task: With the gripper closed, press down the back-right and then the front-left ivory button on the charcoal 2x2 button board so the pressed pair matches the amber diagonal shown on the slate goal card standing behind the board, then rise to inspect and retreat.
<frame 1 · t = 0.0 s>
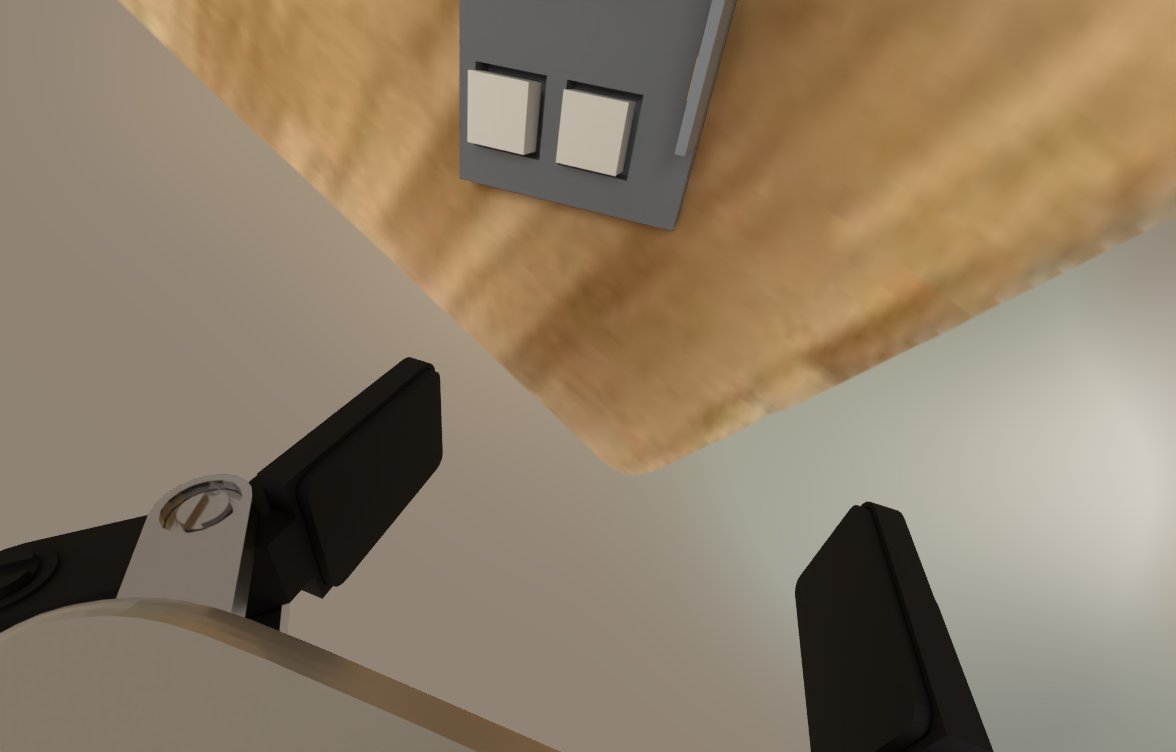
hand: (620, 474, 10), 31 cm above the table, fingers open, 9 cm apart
button D: (595, 132, 32), point 4 cm above the table, slide at 0.0 cm
board: (595, 37, 32), on the table
goal card: (716, 59, 31), resting on board
button B: (503, 112, 33), point 4 cm above the table, slide at 0.0 cm
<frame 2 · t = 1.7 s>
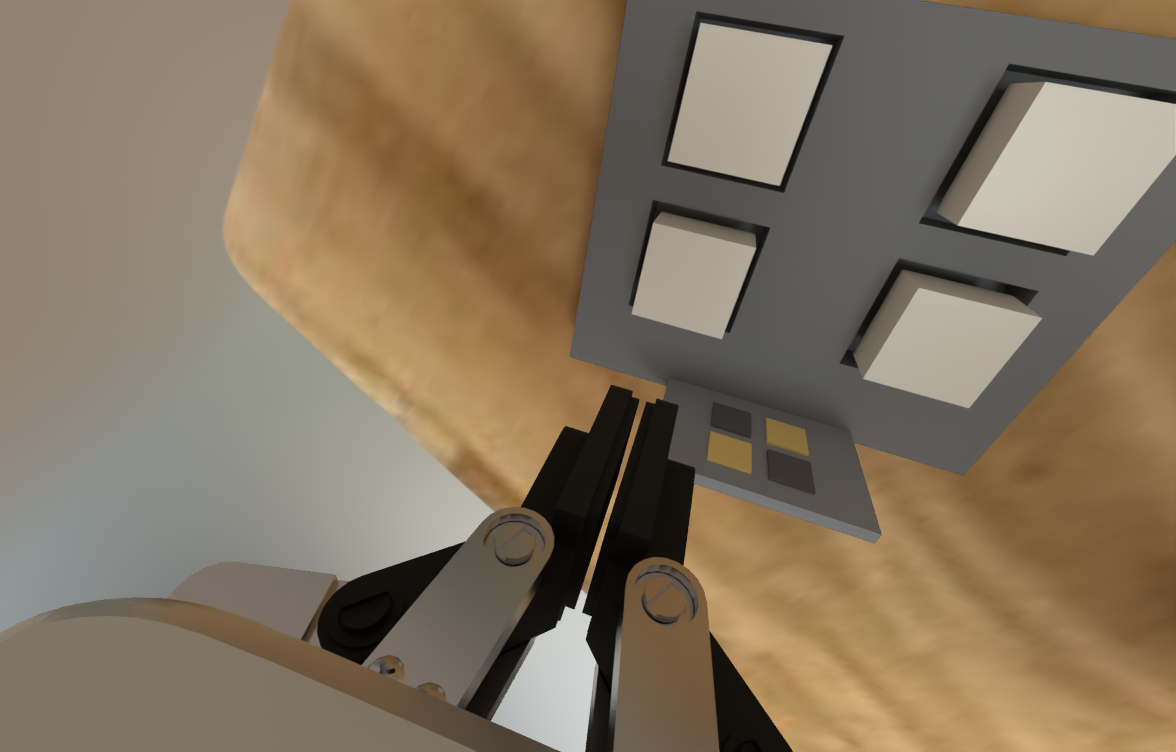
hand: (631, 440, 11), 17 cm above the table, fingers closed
button D: (691, 275, 22), point 4 cm above the table, slide at 0.0 cm
button A: (1051, 169, 16), point 4 cm above the table, slide at 0.0 cm
board: (817, 241, 23), on the table
goal card: (754, 380, 28), resting on board
button C: (935, 338, 20), point 4 cm above the table, slide at 0.0 cm
button B: (742, 108, 18), point 4 cm above the table, slide at 0.0 cm
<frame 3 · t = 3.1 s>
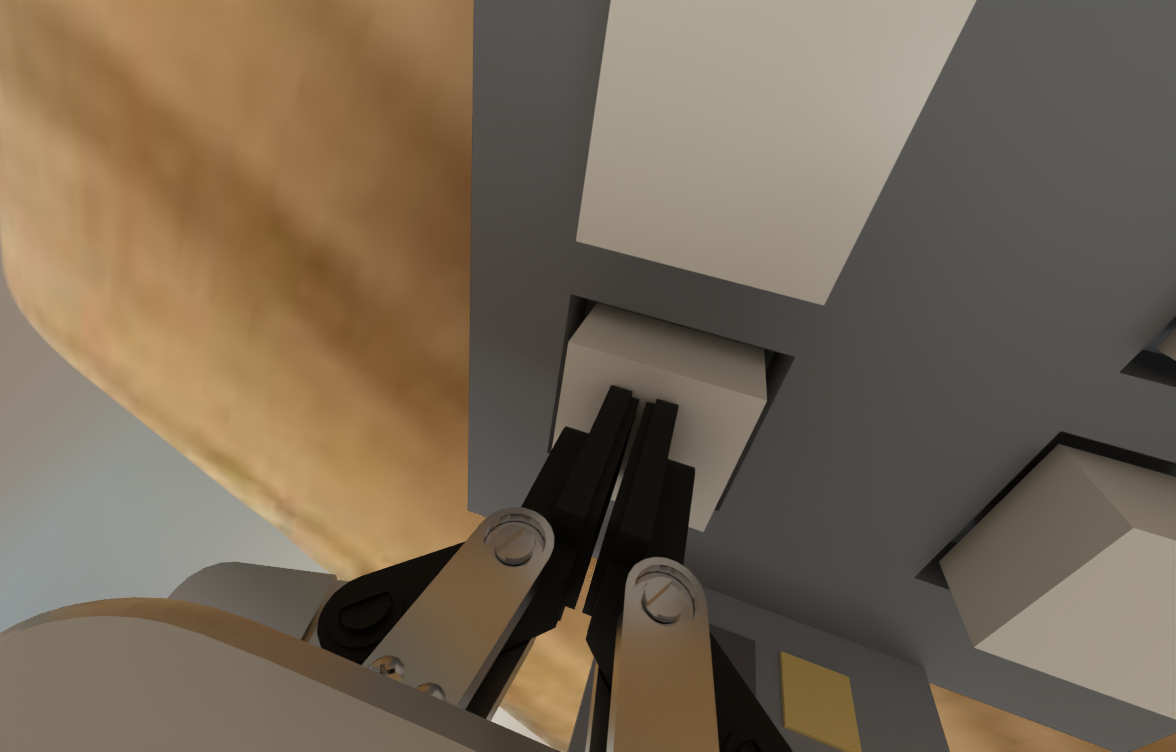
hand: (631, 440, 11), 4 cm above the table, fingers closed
button D: (650, 416, 12), point 3 cm above the table, slide at 0.6 cm, touching gripper
board: (874, 356, 13), on the table
goal card: (760, 542, 18), resting on board
button C: (1126, 584, 10), point 4 cm above the table, slide at 0.0 cm
button B: (739, 126, 8), point 4 cm above the table, slide at 0.0 cm
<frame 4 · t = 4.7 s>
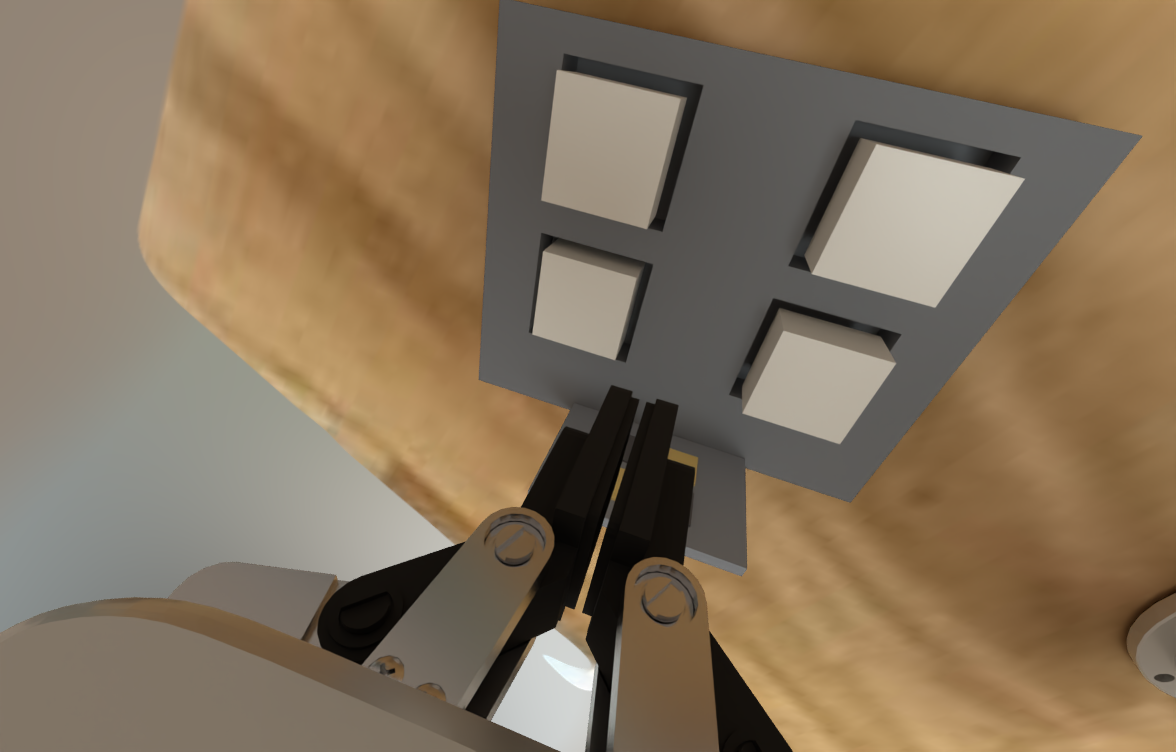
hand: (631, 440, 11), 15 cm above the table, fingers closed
button D: (587, 298, 23), point 3 cm above the table, slide at 1.1 cm
button A: (897, 222, 17), point 4 cm above the table, slide at 0.0 cm
board: (710, 274, 23), on the table
goal card: (663, 404, 28), resting on board
button C: (809, 376, 21), point 4 cm above the table, slide at 0.0 cm
button B: (611, 150, 18), point 4 cm above the table, slide at 0.0 cm
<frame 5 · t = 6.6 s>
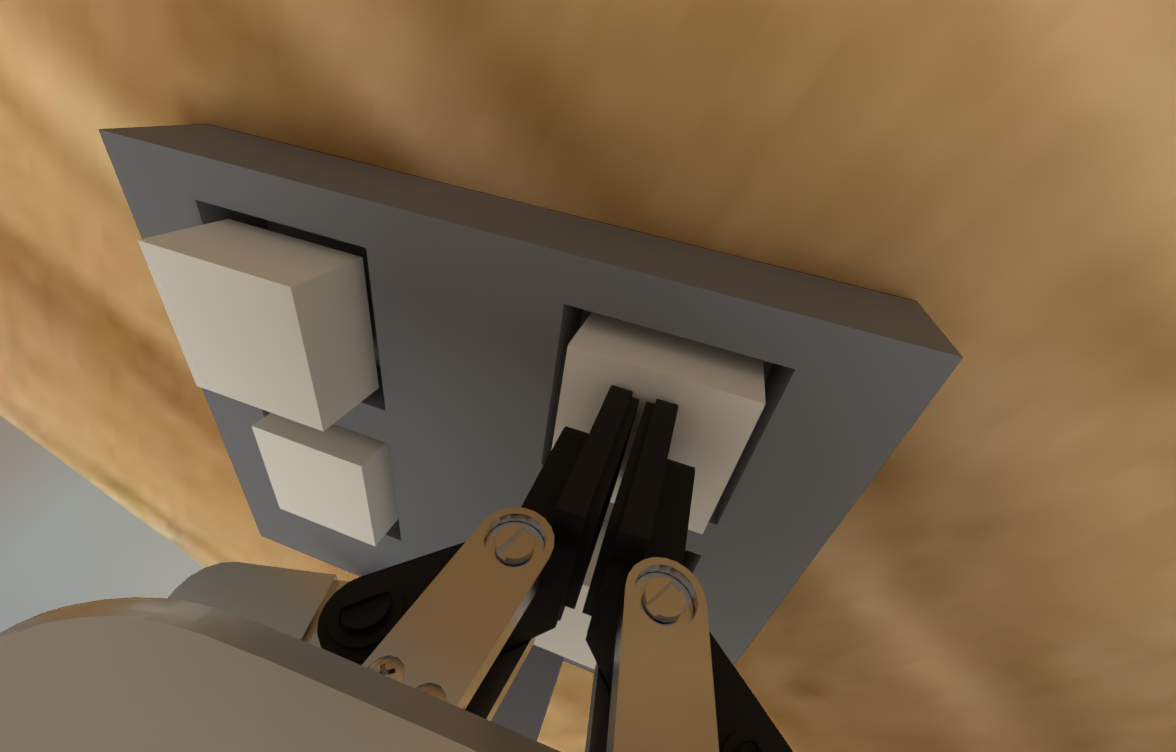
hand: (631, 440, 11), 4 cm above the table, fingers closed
button D: (340, 467, 18), point 3 cm above the table, slide at 1.1 cm
button A: (649, 419, 12), point 3 cm above the table, slide at 1.0 cm, touching gripper
board: (499, 432, 18), on the table
goal card: (491, 559, 23), resting on board
button C: (595, 594, 15), point 4 cm above the table, slide at 0.0 cm
button B: (275, 324, 13), point 4 cm above the table, slide at 0.0 cm
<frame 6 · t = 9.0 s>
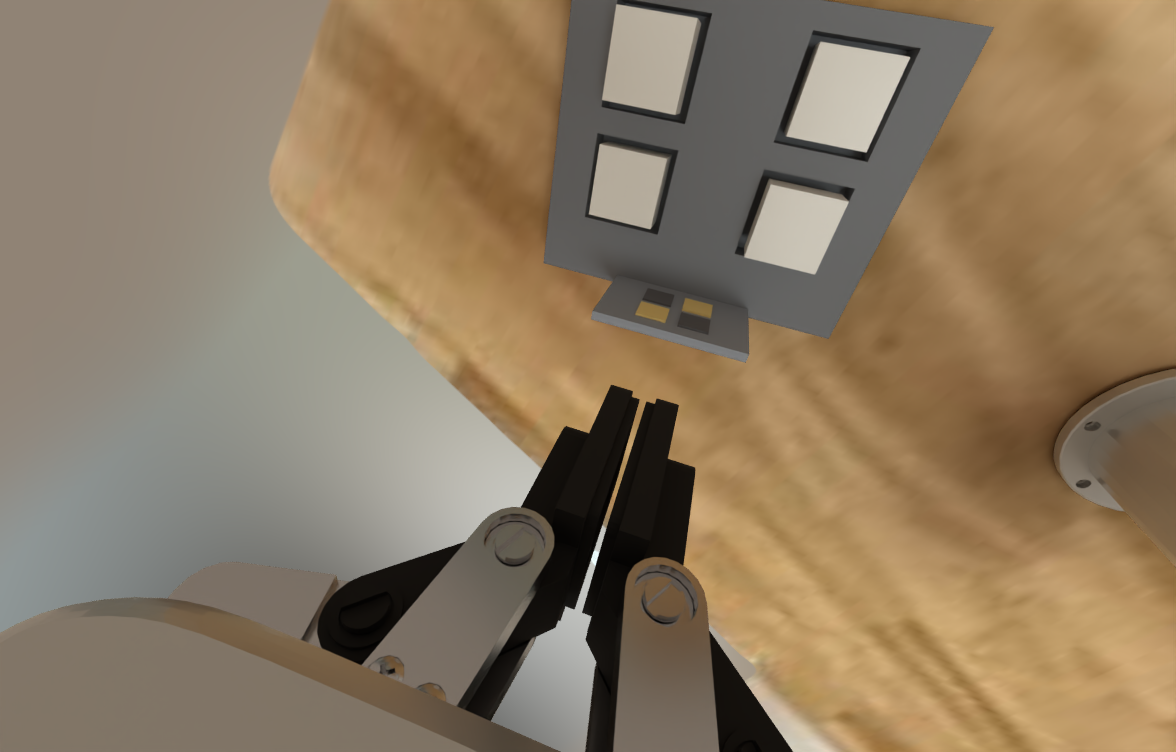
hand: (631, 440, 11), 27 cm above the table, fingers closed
button D: (629, 185, 31), point 3 cm above the table, slide at 1.1 cm
button A: (840, 99, 26), point 3 cm above the table, slide at 1.1 cm
board: (719, 166, 32), on the table
goal card: (684, 281, 36), resting on board
button C: (791, 226, 29), point 4 cm above the table, slide at 0.0 cm
button B: (650, 62, 26), point 4 cm above the table, slide at 0.0 cm
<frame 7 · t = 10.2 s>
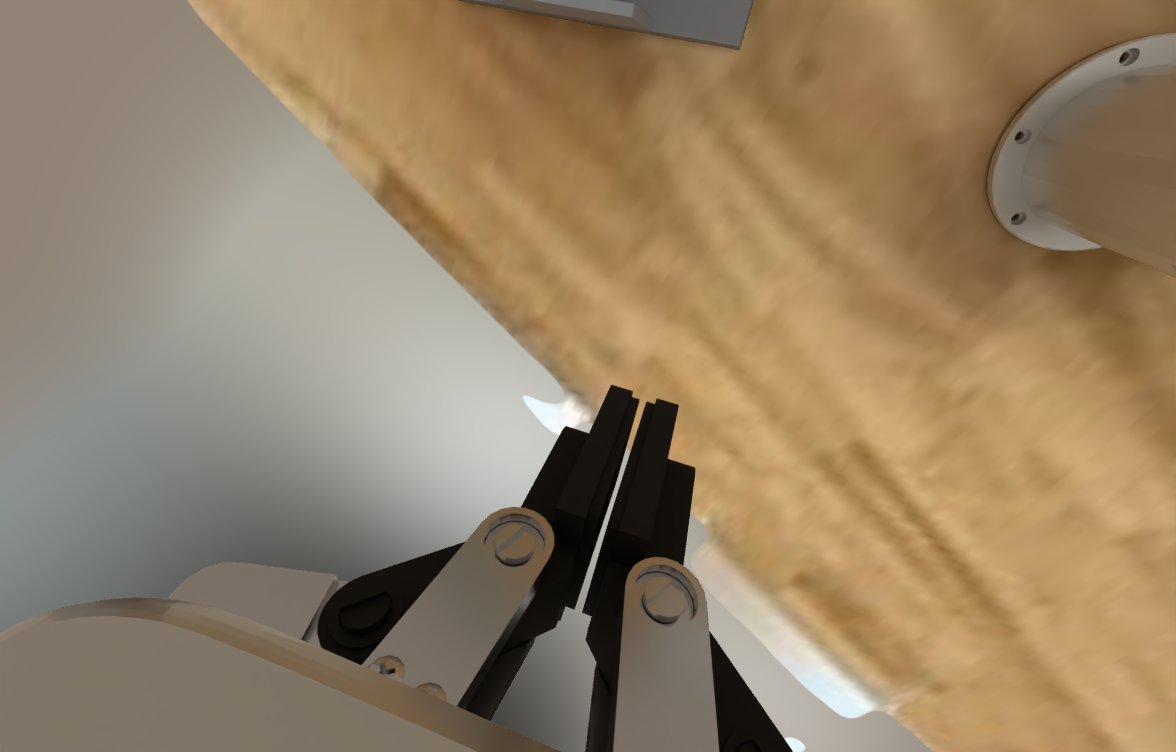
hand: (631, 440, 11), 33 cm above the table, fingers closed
goal card: (595, 19, 34), resting on board
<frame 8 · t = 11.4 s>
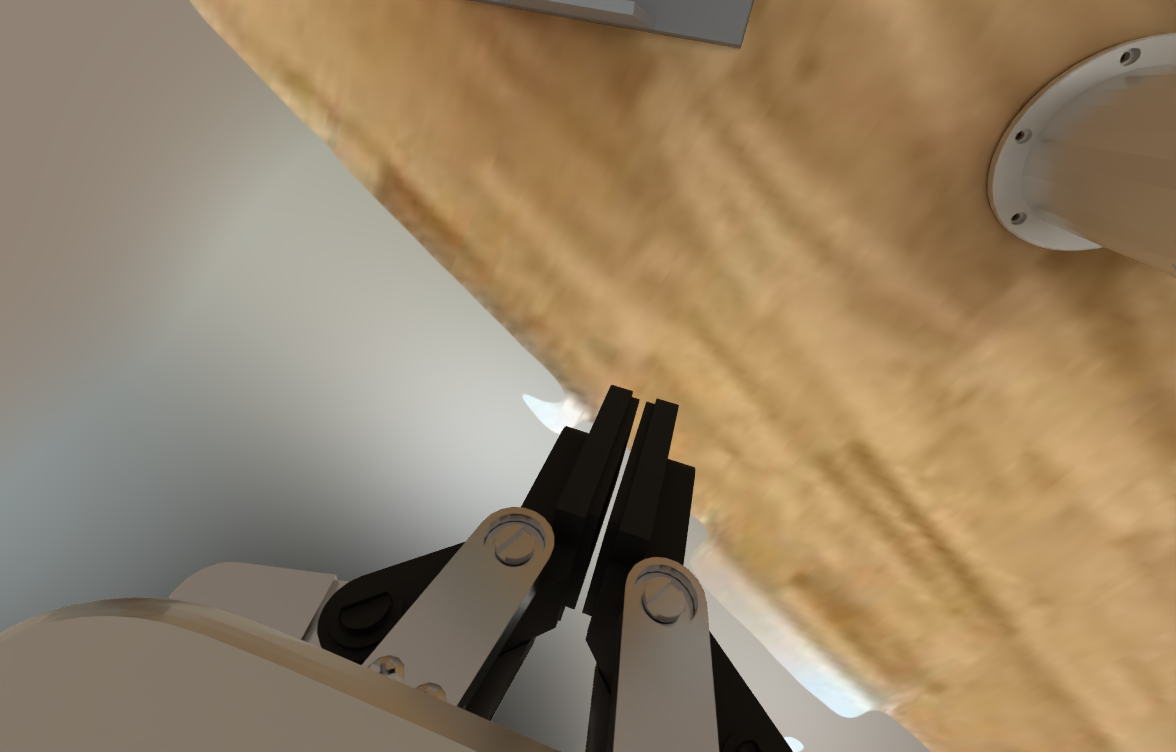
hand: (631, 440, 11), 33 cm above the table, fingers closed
goal card: (596, 17, 34), resting on board
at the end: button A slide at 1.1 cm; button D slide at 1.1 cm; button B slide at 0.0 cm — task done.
